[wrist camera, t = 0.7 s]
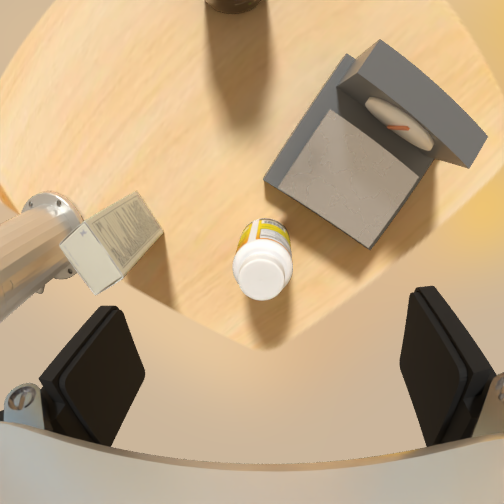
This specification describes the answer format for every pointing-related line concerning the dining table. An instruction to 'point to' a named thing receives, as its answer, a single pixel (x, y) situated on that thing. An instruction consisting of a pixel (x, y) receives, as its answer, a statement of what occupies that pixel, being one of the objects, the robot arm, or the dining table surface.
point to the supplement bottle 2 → (263, 259)
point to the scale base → (388, 116)
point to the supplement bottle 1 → (232, 5)
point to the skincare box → (111, 242)
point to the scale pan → (348, 179)
